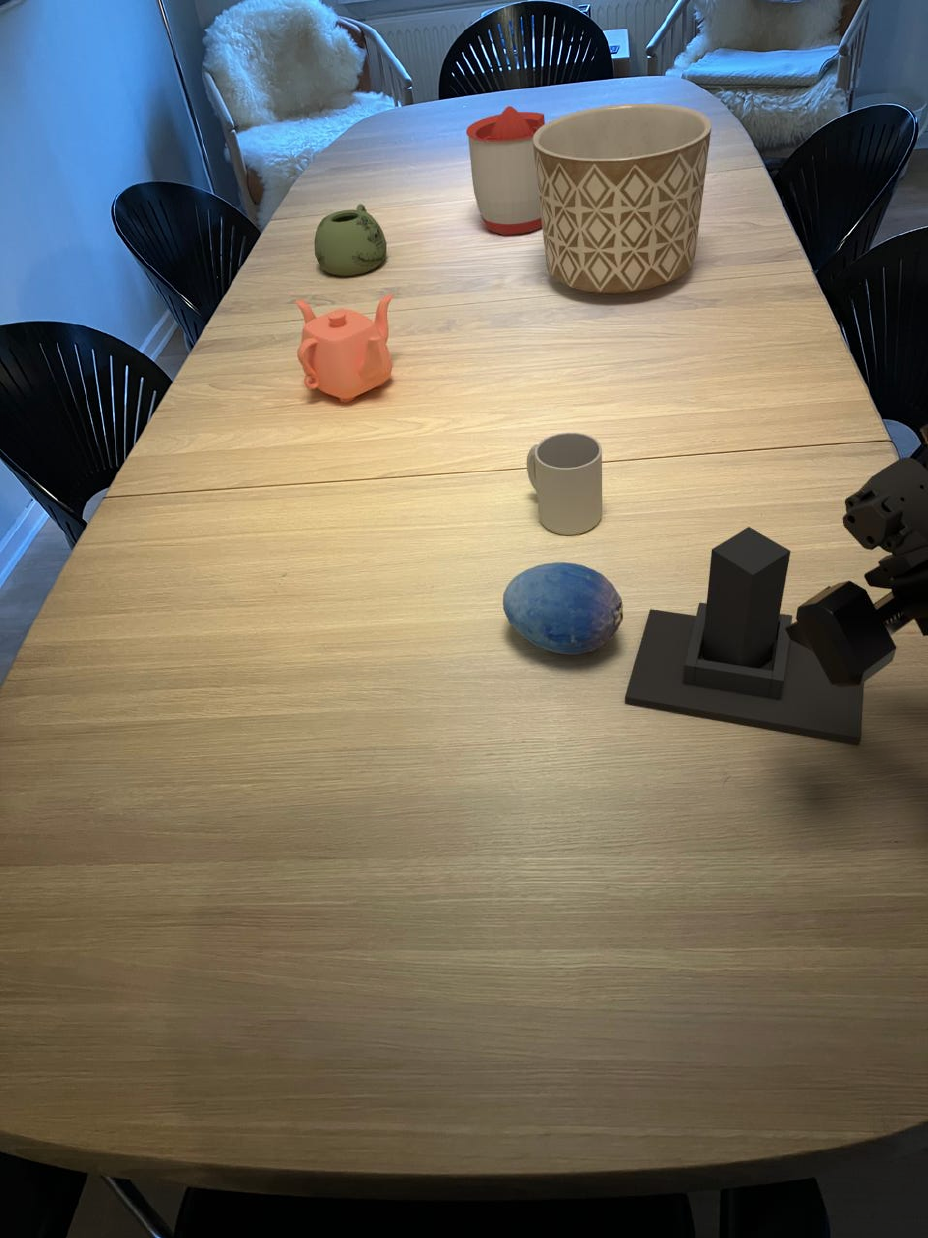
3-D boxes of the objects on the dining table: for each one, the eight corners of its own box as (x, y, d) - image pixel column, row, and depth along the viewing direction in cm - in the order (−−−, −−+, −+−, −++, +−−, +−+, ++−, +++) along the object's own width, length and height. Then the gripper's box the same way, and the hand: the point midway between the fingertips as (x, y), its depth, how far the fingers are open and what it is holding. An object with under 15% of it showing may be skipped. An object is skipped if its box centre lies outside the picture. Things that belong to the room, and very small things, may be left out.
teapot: (311, 364, 140) (295, 294, 132) (404, 358, 138) (393, 287, 131) (293, 414, 129) (273, 341, 122) (393, 408, 128) (380, 334, 120)
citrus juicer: (580, 227, 168) (578, 105, 154) (489, 247, 165) (479, 126, 152) (550, 200, 179) (546, 85, 165) (465, 219, 177) (453, 103, 163)
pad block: (772, 660, 85) (791, 550, 76) (737, 683, 83) (753, 574, 74) (734, 634, 88) (748, 526, 79) (701, 657, 86) (711, 549, 77)
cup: (572, 544, 102) (569, 477, 96) (509, 509, 108) (503, 444, 102) (615, 514, 105) (615, 447, 99) (552, 482, 111) (549, 417, 105)
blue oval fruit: (646, 595, 80) (490, 564, 86) (634, 686, 83) (484, 650, 89) (672, 570, 87) (527, 543, 93) (661, 654, 90) (521, 623, 96)
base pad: (864, 647, 86) (871, 620, 84) (858, 745, 78) (866, 718, 76) (649, 616, 92) (650, 589, 90) (624, 703, 84) (625, 677, 82)
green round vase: (376, 280, 160) (367, 229, 154) (307, 280, 164) (296, 230, 158) (403, 243, 171) (396, 194, 165) (338, 243, 175) (329, 196, 169)
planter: (645, 230, 163) (648, 92, 148) (734, 280, 145) (749, 128, 130) (513, 269, 157) (503, 129, 142) (589, 326, 139) (587, 173, 124)
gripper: (1032, 396, 61) (859, 467, 75) (845, 514, 54) (694, 567, 69) (1109, 544, 61) (922, 587, 76) (933, 681, 54) (765, 698, 69)
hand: (829, 605), depth 72 cm, fingers open, 9 cm apart
